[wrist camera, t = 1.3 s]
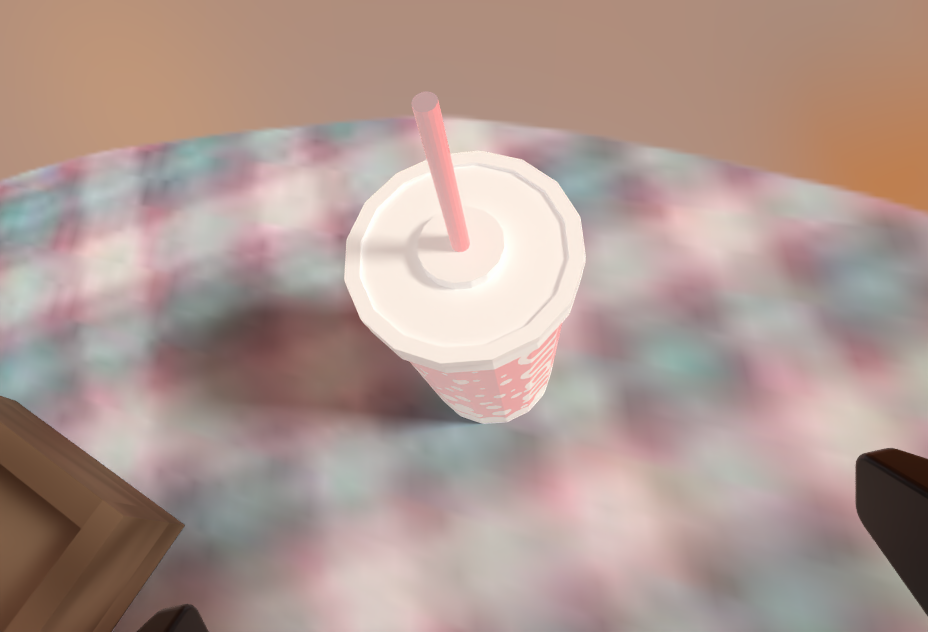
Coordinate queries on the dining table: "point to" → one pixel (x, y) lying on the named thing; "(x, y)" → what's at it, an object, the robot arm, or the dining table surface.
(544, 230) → the beverage cup
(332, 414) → the dining table surface
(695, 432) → the dining table surface
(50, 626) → the wooden compartment tray
